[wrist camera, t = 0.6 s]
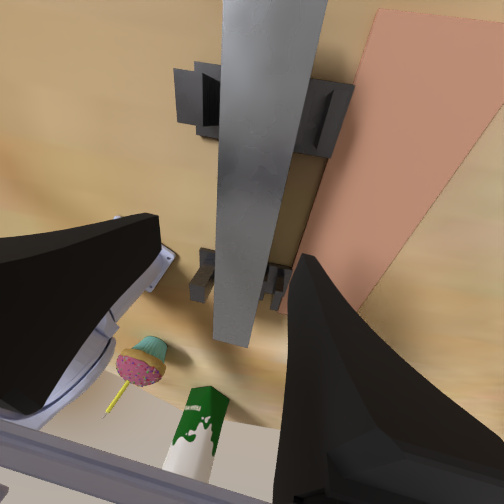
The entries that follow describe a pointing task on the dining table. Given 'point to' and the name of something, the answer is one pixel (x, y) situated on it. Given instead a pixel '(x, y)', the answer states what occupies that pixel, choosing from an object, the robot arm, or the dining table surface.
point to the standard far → (272, 284)
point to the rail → (256, 143)
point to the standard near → (312, 119)
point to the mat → (401, 140)
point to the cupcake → (141, 365)
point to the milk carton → (197, 434)
